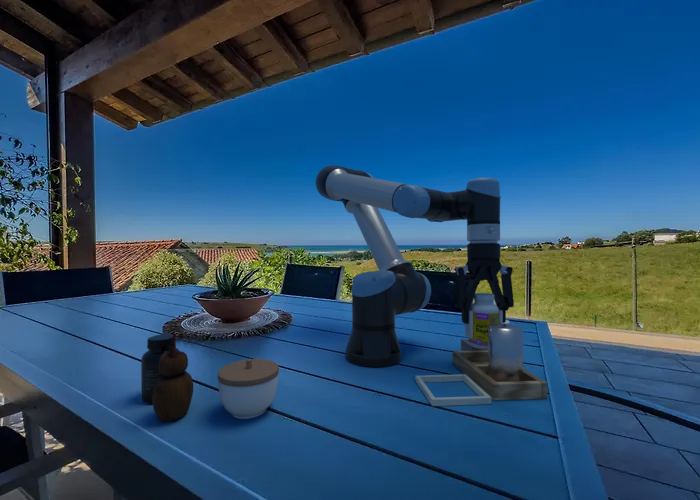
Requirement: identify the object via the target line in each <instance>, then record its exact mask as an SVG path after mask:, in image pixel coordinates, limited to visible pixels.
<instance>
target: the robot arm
mask: <svg viewBox="0 0 700 500" xmlns="http://www.w3.org/2000/svg"><path fill="white" fill-rule="evenodd" d="M315 187H316V190H317V192H318V194H319V195H320V196H321V197H322V198H324V199H327V200H330V201H335V202H341V203H342V204H343V206H344V208H345V210H346V211H347V213H349V214H352V215H353V217H354V219H355V221H356V223H357V226H358V227H359V231H360V232H361V234H362V237H363V239H364V241H365V243H366V245H367V247H368V249H369V252H370V254H371V256H372V259H373V260H374V262H375V264H376V266H377V268H378V270H373V271H365V272H361V273H358V274H356V275H355V276H354V277H353V279H352V287H351V303H352V304H351V306H352V309H351V315H352V316H351V317H352V320H351V321H352V322H351V323H352V324H351V327H352V328H351V332H350V335H349V339H348V342H347V344H346V345H347V346H346V348H345V358H346V360H347V362H349V363H351V364H353V365H358V366H360V367H361V366H362V367H367V368H368V367H369V368H381V367H383V368H385V367H389V366H394V365H396V364H398V363H400V362H401V361H402V349H401V345H400V342H399V338H398V335H397V332H396V316H398V315H402V314H403V315H404V314H409V313H414V312H415V313H416V312H417V311H420V310H422V309H424V308H425V307H426V306H427V305H428V304H429V302H430V298H431V295H432V286H431V283H430V281H429V279H428V278H427V276H425V274H422V273H420V272H419V271H418V272H417V271H416V269H415V267H414V265H413V263H412V262H410V260H409V261H408V260H405V258H404V256H403V254H402V252H401V250H400V249H399V247H398V244H397V243H396V240H395V238H394V237H393V235H392V233H391V230H390V229H389V227H388V225H387V223H386V220H385V219H384V217H383V215H382V213H381V211H380V209H382V210H385V211H389V212H393V213H396V214H398V215H399V216H402V217H404V218H409V219H423V220H424V219H425V220H427V221H428V222H431V223H434V222H435V223H443V222H451V221H452V222H453V221H460V220H461V221H462V220H464V221H465V220H466V241H467V242H469V243H467V244H466V257H467V262H466V264H465V265H462V266H455V267H454V273H455V276H456V278H455V288H454V300H453V306H454V307H456V308H458V309H460V310H461V322H462V323H463V324H464V331H465V332H464V333H465V336H466V337H467V338H468V339H469V338H473V311H471V310H470V307H471V304H473V301H474V295H475V293H477V292H476V291H477V288H478V287H479V285H480V283H481V282H482V281H487V284H488V285H489V288H490V290H491V294H494V301H495V303H496V305H497V307H498V309H499V323H502V324H503V323H505V322H506V320H507V318H506V317H507V314H506V313H507V311H508V310H509V309H510V308H514V306H515V303H514V301H515V300H514V293H513V283H512V282H513V281H512V274H513V269H514V268H513V267H512V266H505V265H502V263H501V261H500V259H501V244H500V243H498V242H499V241H500V240H501V198H502V196H501V190H500V189H501V188H500V181H499V180H498V179H497V178H494V177H477V178H473V179H470V180H468V181H467V183H466V187H465V188H466V189H463V190H456V191H450V192H447V191H444V190H443V191H442V190H437V189H432V188H428V187H424V186H420V185H416V184H407V183H402V182H396V181H392V180H385V179H380V178H375V177H374V176H373V175H372V174H370V173H369V172H367V171H364V170H362V169H353V168H349V167H344V166H340V165H334V164H333V165H332V164H331V165H326V166H325V167H322V168H321V169H320V170H319V171H318V173H317V175H316V176H315ZM467 272H468V273H469V275H470V276H469V279H468V284H467V287H466V291H465V285H466V274H467ZM498 273H500V274H501V275H500V279H501V280H500V281H501V287H500V281H499V278H498ZM501 288H502V289H501Z"/></svg>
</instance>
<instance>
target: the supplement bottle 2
mask: <svg viewBox="0 0 700 500" xmlns="http://www.w3.org/2000/svg"><path fill="white" fill-rule="evenodd" d="M473 301H474V303H473V302H472V304H471V307H470V310H471V311H473V338H469V337H468V339H469V343H470V345H471V346H472V347H474V348H477V349H482V350H488V325H489V324H495V323H499V309H498V307H497V306H496V305H494V304H493V301H495V300H494V294H492V293H488V292H486V293H485V292H475V295H474V298H473Z"/></svg>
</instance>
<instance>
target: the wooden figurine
mask: <svg viewBox="0 0 700 500" xmlns="http://www.w3.org/2000/svg"><path fill="white" fill-rule="evenodd" d="M172 335H173V340H172V352H168V353H166V354H164V355H162V356H161V358H160V360H159V365H158V369H159V373H160V374H161V375H162V376H161V377H159V379H158V380H157V382H156V383H155V386H154V389H153V394H152V403H153V404H152V408H153V410H154V414H155V415H156V417H157V418H158V419H159V420H161V421H162V422H171V421H175V420H176V421H177V419H180V418H182V417H183V416H184V415H185V414H187V412H188V410H189V409H190V405H191V402H192V399H193V395H194V381H193V378H192V375H191V374H190V373H189V372H188V371H187V369H188V366H189V359H188V355H187V354H186V353H185V352H184V351H182V350H179V351H176V348H177V345H176V344H177V343H176V334H175V329H173V330H172Z"/></svg>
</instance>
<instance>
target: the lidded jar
mask: <svg viewBox="0 0 700 500" xmlns="http://www.w3.org/2000/svg"><path fill="white" fill-rule="evenodd" d="M279 373H280V366H279V364H278V363H277V362H275V361H274V360H270V359H264V358H247V359H243V360H237V361H234V362H231V363H227V364H226V365H224V366H223V367H221V368H220V369H219V370H218V371H217V380H218V383H217V384H218V386H217V387H218V395H219V398H220V402H221V404H222V406H223V407H224V409H225V410H226V411H227V412H228V413H230V414H231V416H232V417H234V418H235V419H238V420H250V419H254V418H257V417H259V416H261V415H263V414H264V413H265V412H266V411H267V409H268V408H269V407H270V405H271V404H272V403H273V401H274V399H275V397H276V395H277V391H278V387H279V386H278V384H279Z"/></svg>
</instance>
